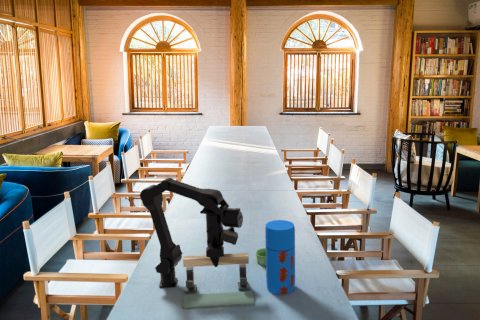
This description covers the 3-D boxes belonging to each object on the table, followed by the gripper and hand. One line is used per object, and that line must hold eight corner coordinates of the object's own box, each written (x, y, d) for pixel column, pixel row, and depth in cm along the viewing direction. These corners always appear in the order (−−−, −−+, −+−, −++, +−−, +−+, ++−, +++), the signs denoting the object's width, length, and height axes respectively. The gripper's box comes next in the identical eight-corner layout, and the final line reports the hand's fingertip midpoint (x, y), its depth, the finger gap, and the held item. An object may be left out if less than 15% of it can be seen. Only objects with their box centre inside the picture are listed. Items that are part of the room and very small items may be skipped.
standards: (185, 286, 174) (184, 267, 172) (248, 283, 175) (247, 263, 173) (184, 295, 167) (183, 275, 165) (249, 292, 168) (248, 272, 166)
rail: (184, 263, 169) (183, 256, 168) (248, 260, 170) (247, 252, 169) (183, 267, 166) (182, 259, 165) (248, 263, 167) (248, 256, 166)
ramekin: (272, 255, 198) (271, 246, 198) (280, 264, 190) (280, 254, 189) (252, 259, 196) (252, 249, 195) (260, 268, 187) (260, 258, 186)
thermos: (266, 280, 176) (264, 220, 171) (293, 280, 176) (293, 219, 170) (266, 295, 165) (265, 230, 160) (296, 294, 165) (295, 230, 160)
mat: (184, 296, 166) (184, 294, 166) (252, 292, 167) (252, 291, 167) (182, 308, 158) (182, 307, 158) (254, 304, 159) (254, 303, 159)
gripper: (237, 233, 156) (239, 275, 159) (235, 215, 174) (236, 253, 177) (205, 235, 155) (207, 276, 158) (206, 216, 173) (208, 254, 177)
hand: (216, 264), depth 168 cm, fingers closed on rail, 3 cm apart
